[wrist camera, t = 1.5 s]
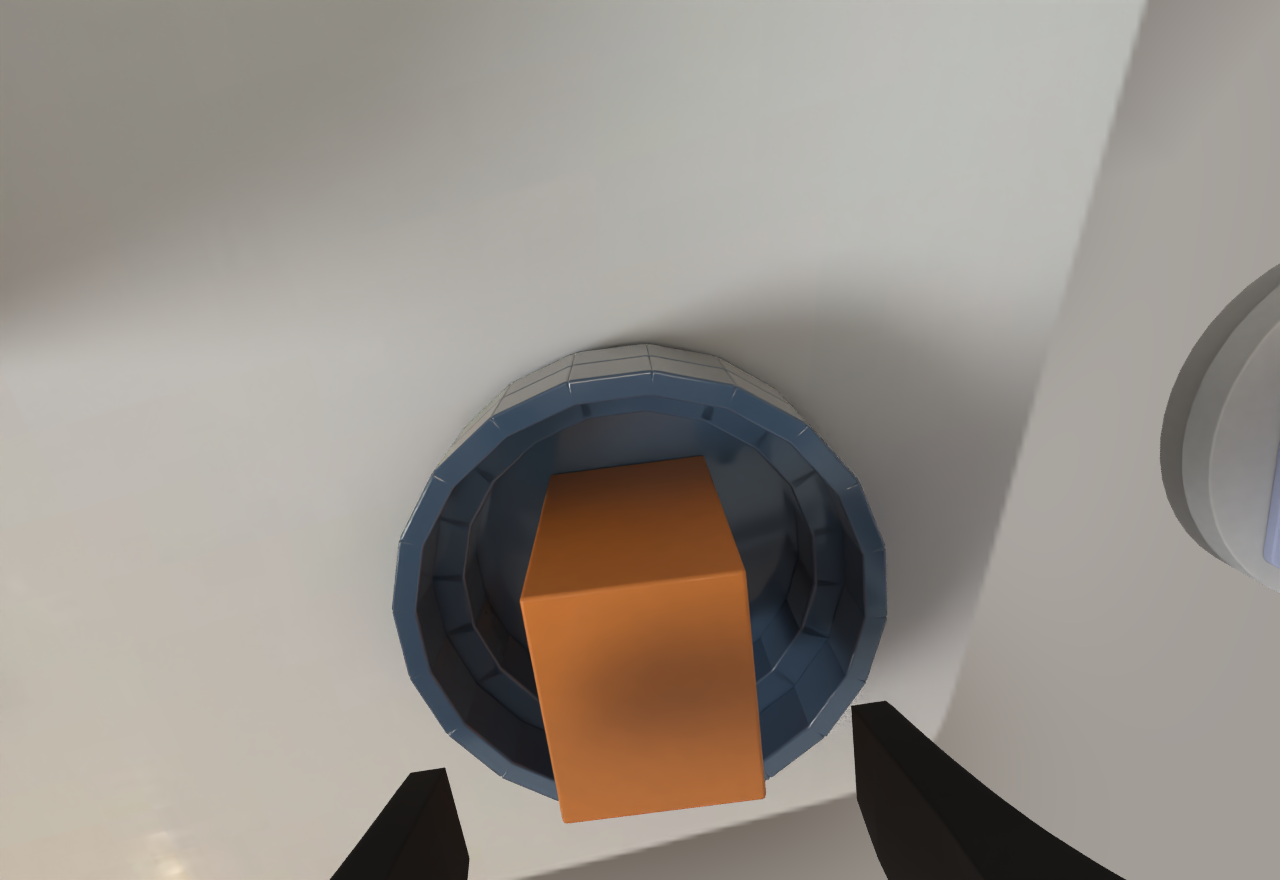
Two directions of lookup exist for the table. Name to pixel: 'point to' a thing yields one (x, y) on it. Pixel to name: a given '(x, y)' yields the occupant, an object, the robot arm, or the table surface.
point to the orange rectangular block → (642, 643)
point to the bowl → (618, 436)
